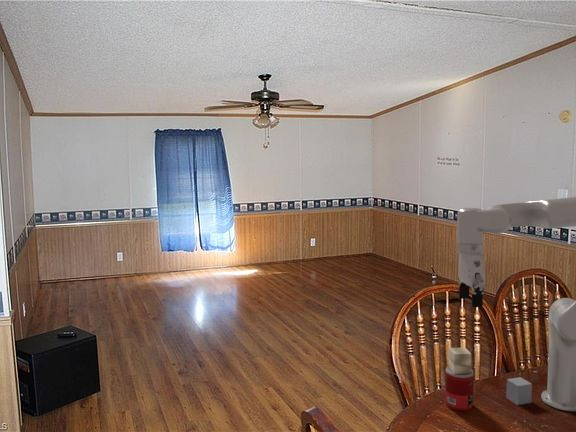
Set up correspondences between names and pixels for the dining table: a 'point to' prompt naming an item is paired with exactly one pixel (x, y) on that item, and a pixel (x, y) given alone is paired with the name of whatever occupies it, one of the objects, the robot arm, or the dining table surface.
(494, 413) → the dining table surface
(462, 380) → the canned food
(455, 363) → the birch block
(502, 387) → the dining table surface
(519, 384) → the slate block
